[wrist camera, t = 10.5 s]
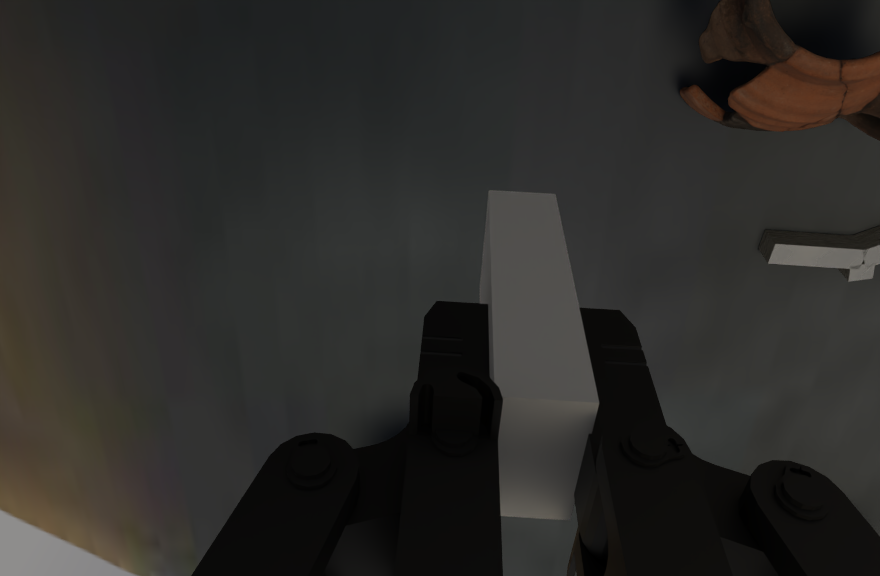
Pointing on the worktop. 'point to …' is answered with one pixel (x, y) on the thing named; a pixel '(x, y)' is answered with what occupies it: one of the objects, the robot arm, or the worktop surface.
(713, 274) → the worktop surface
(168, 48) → the worktop surface
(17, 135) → the worktop surface
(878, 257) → the grey u-shaped piece
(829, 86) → the pottery mug
